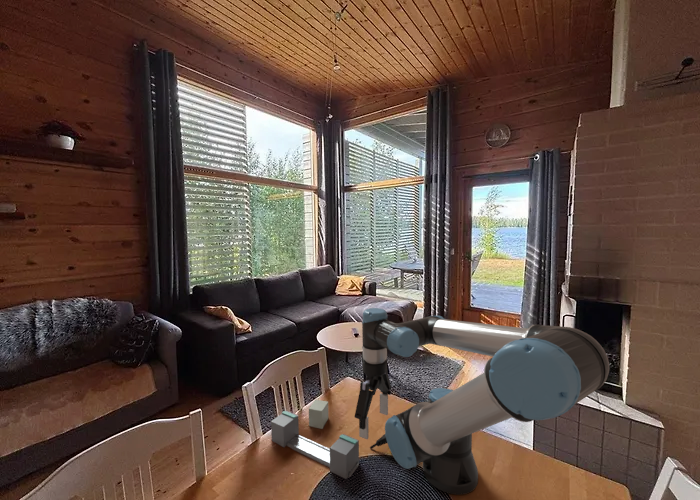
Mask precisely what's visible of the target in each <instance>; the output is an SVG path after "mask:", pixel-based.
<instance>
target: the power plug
mask: <svg viewBox="0 0 700 500" xmlns="http://www.w3.org/2000/svg"><path fill="white" fill-rule="evenodd" d="M385 444H388V443H387V440H386V435H385V433H384V434H382V435H381V437H379V438H378V439H377V440H376V442H375V443H374V444H373V445H371V446H370V447H369V449H370V450H372V449H374V448H376V446H377V447H381V446H384V445H385Z"/></svg>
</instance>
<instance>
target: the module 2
mask: <svg viewBox="0 0 700 500" xmlns="http://www.w3.org/2000/svg"><path fill="white" fill-rule="evenodd" d="M328 420H329V401H327V400H320V399H315V400H314V401H313V402H312V403H311V405H310V407H308V426H309V427H311V428H316V429H321V430H323V429H324V427H325V425H326V424H327V421H328Z"/></svg>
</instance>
